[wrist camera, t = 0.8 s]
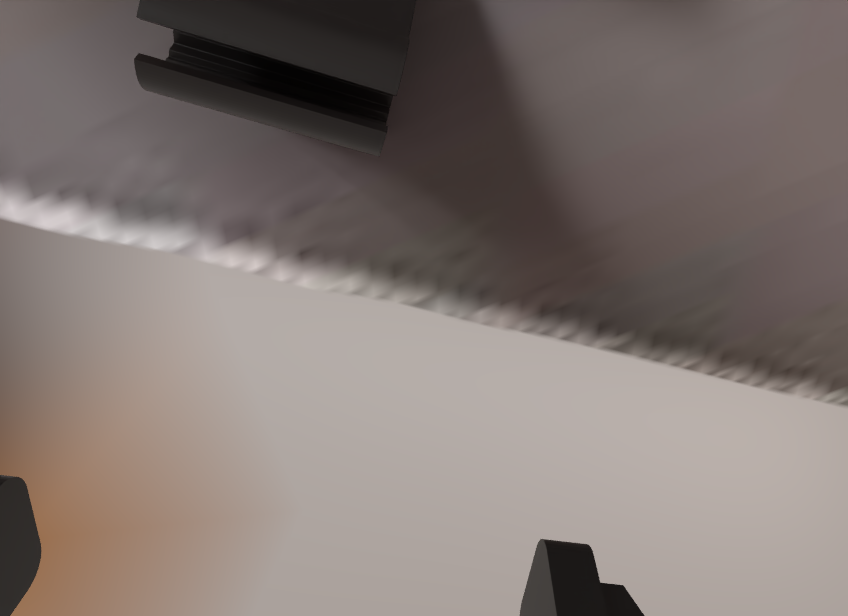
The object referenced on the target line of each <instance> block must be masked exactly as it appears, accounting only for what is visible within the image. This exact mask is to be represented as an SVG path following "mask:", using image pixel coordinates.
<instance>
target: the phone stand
mask: <svg viewBox="0 0 848 616" xmlns="http://www.w3.org/2000/svg"><path fill="white" fill-rule="evenodd" d="M415 3H416V0H140V3H139V7H138V12H137V18H139V19H141V20H145V21H148V22H151V23H155V24H158V25H161V26H165V27H168V28H171V29H174V30H173V34H174V44H173V45H172V47H171V48H170V49H169V57H168V58H166V61H164V60H161V59H157V58H154V57H150V56H147V55H144V54H140V53H139V54H138V55H137V56H136V58H135V59H134V63H135V70H136V75H137V78H138V81H139V83H140V85H141V87H142V88H143V89H144V90H147V91H150V92H154V93H157V94H161V95H164V96H168V97H171V98H175V99H178V100H182V101H185V102H189V103H192V104H196V105H199V106H203V107H206V108H210V109H213V110H217V111H220V112H224V113H227V114H231V115H234V116H238V117H241V118H245V119H249V120H252V121H256V122H259V123H263V124H266V125H270V126H273V127H277V128H280V129H284V130H287V131H291V132H294V133H298V134H301V135H305V136H308V137H312V138H315V139H319V140H322V141H326V142H329V143H333V144H336V145H340V146H343V147H347V148H350V149H354V150H357V151H361V152H364V153H368V154H371V155H375V156H379V155H380V153H381V150H382V147H383V143H384V140H385V136H386V133H387V128H388V126H386V121H387V117H388V113H389V108H390V105H391V101H392V98H393V95H394V96H396V95H397V92H398V88H399V84H400V80H401V76H402V72H403V67H404V63H405V59H406V55H407V50H408V45H409V32H410V27H411V22H412V18H413V13H414V8H415Z"/></svg>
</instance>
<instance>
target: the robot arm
mask: <svg viewBox="0 0 848 616" xmlns="http://www.w3.org/2000/svg"><path fill="white" fill-rule="evenodd" d="M40 558H41V543H40V539H39V536H38V531H37V527H36V523H35V519H34V515H33V510H32V506H31V502H30V498H29V494H28V490H27V486H26V484H25V482H24V480H23V479H21V478H19V477H13V476H4V475H0V616H10V615H11V614H12V612H13V611H14V609H15V608H16V607H17V605H18V604H19V602H20V601H21V599H22V598H23V596H24V595H25V594H26V592H27V591H28V589H29V587H30V586H31V584H32V582H33V580H34V578H35V576H36V573H37V570H38V567H39V563H40ZM520 616H644V614H643V613H642V612H641V610H640V609H639V607H638V606H637V604H636V603H635V602H634V600H633V599H632V597H631V596H630V595H629V593H628V592H627V590H626V589H625V587H624V586H623V585H615V584H607V583H600V580H599V576H598V572H597V568H596V563H595V559H594V555H593V551H592V549H591V547H590V546H589V545H587V544H580V543H571V542H561V541H553V540H544V539H541V540H540V541H539V542H538V545H537V548H536V552H535V555H534V559H533V563H532V566H531V570H530V574H529V578H528V581H527V585H526V589H525V592H524V596H523V600H522V604H521V610H520Z"/></svg>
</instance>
